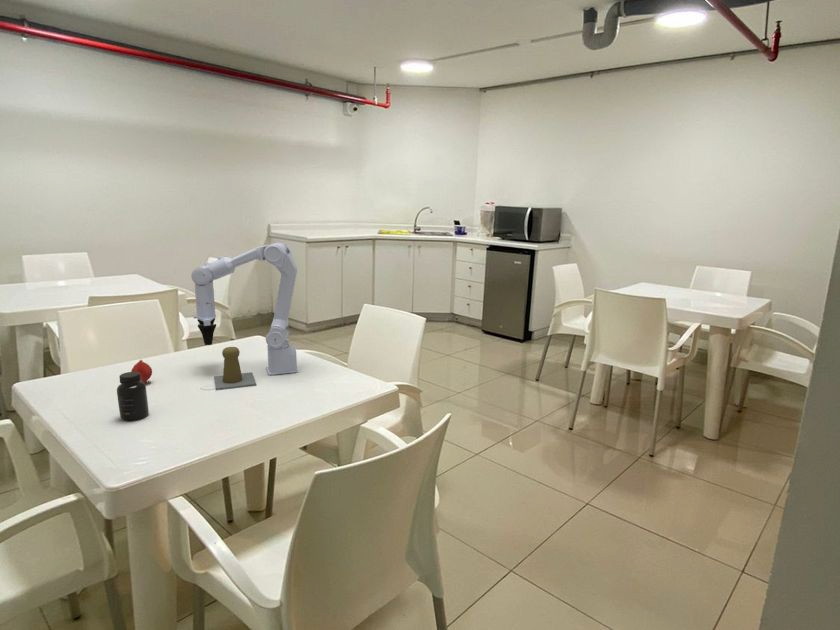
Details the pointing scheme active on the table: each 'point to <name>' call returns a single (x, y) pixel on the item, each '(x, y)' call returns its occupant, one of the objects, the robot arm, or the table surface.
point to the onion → (143, 370)
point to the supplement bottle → (132, 397)
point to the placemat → (246, 381)
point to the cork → (231, 365)
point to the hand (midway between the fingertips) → (208, 341)
